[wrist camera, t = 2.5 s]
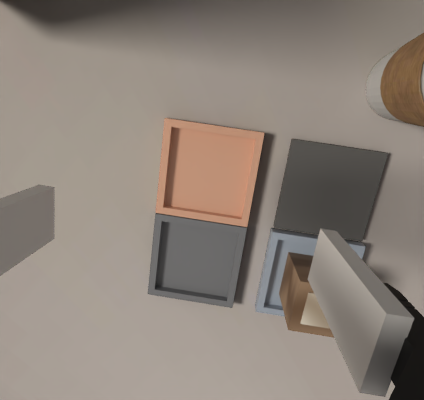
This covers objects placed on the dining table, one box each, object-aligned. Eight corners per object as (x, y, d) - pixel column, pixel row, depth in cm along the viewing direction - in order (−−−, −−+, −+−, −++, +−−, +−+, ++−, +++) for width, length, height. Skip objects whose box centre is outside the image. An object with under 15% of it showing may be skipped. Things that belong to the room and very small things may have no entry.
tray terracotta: (167, 118, 30) (164, 118, 29) (263, 132, 30) (264, 133, 29) (158, 209, 33) (155, 212, 31) (246, 223, 32) (247, 227, 31)
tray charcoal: (158, 210, 33) (155, 213, 31) (246, 224, 32) (247, 228, 31) (150, 288, 35) (147, 294, 34) (232, 301, 35) (232, 307, 34)
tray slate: (271, 227, 32) (272, 232, 31) (360, 241, 32) (365, 246, 31) (254, 305, 35) (255, 311, 34) (338, 318, 35) (341, 325, 33)
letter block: (288, 251, 32) (300, 282, 27) (335, 259, 32) (358, 291, 26) (278, 294, 34) (288, 331, 28) (324, 301, 34) (343, 340, 28)
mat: (291, 138, 30) (292, 139, 29) (385, 152, 30) (388, 153, 29) (273, 225, 32) (274, 227, 32) (359, 239, 32) (362, 241, 31)
